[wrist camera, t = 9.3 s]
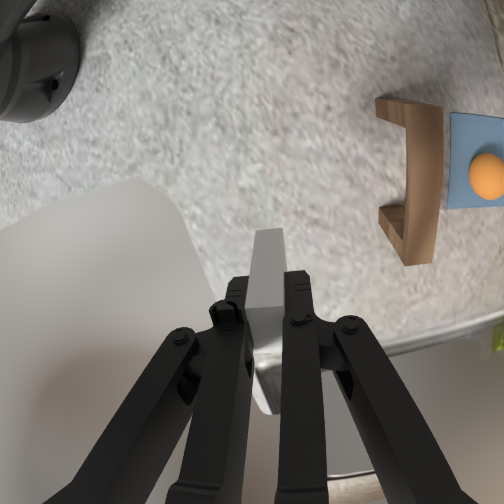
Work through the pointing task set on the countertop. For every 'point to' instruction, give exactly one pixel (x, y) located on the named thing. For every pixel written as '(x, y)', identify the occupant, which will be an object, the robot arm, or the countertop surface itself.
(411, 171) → the bridge
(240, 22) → the countertop surface
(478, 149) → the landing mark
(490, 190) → the ball
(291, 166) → the countertop surface
